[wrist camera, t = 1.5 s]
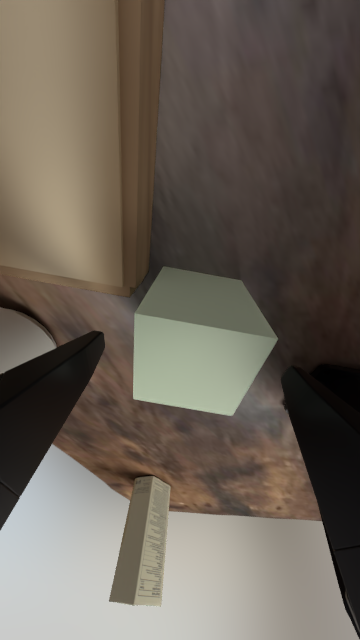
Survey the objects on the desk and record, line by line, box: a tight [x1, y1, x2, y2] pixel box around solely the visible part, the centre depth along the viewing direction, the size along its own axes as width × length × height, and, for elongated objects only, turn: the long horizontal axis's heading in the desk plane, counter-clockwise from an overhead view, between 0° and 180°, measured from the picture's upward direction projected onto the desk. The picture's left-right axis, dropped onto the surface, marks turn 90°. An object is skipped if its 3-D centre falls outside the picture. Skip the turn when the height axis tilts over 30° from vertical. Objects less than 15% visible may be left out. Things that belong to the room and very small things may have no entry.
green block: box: [133, 266, 278, 416], centre depth 10 cm, size 5×5×6 cm
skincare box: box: [109, 476, 170, 606], centre depth 28 cm, size 6×4×12 cm
